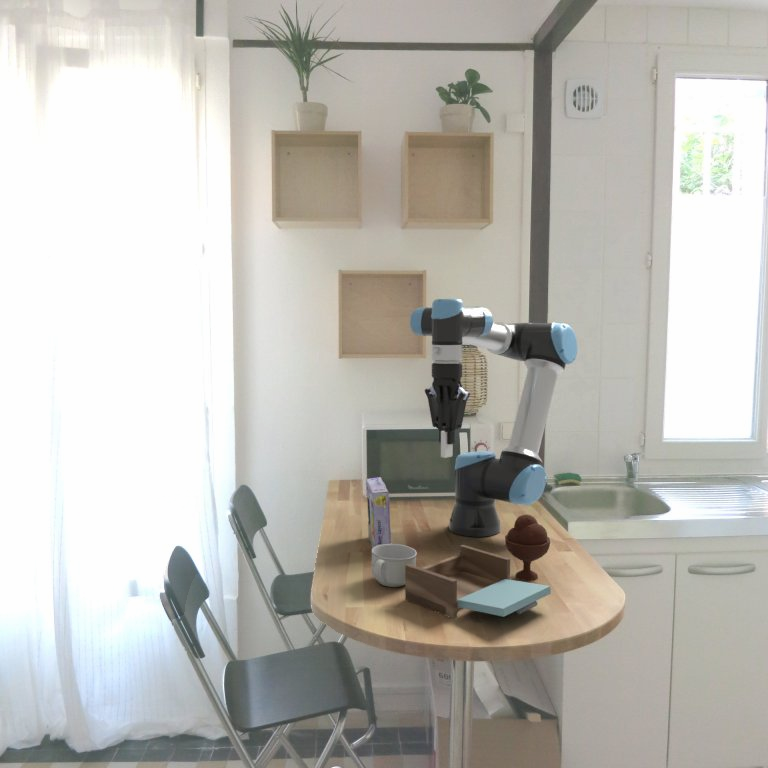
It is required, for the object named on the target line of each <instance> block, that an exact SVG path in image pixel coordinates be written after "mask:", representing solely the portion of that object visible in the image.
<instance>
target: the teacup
mask: <svg viewBox="0 0 768 768" xmlns="http://www.w3.org/2000/svg"><path fill="white" fill-rule="evenodd" d="M417 555H418V552H417V550H416V549H415V548H413V547H410V546H407V545H406V544H400V543H391V544H382V545H377V546H375V547H373V548H371V574H372V576H373V578H374V579H375V580H376V581H377V582H378V583H379V584H380V585H382V586H386V587H389V588H399V587H403V586H405V565H407V564H411V565H414V566H417V563H416V562H417Z"/></svg>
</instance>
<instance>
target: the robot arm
mask: <svg viewBox="0 0 768 768" xmlns="http://www.w3.org/2000/svg"><path fill="white" fill-rule="evenodd" d="M463 304H464V303H463V300H462V299H460V298H436V299H434V300H433V301H432V305H431V307H427V306H425V307H418V308H415V309H414V310H413V311H412V312H411V314H410V319H409V327H410V329H411V331H412V333H413V334H415V335H416V336H422V337H427V336H429V337H431V361H434V362H432V363H431V377H432V378H433V381H432V383H431V386H430V387H429V388H425V389H424V393H425V395H426V397H427V400H428V401H427V402H428V407H429V413H430V419H431V425H432V427H434V428H436V429H437V430H438V436H439V438H438V441H439V443H440V458H444V459H447V458H451V457H453V456H454V455H453V453H454V452H453V450H454V449H453V448H454V447H453V445H454V444H455V441H456V440H455V436H456V435H455V434H456V431H457V430H460V429H462V426H463V421H464V416H465V412H466V406H467V401H468V399H469V398H470V396H471V392H470V391H466V390H465V389H464V388H463V385H462V381H461V379H462V378H463V364H462V362H461V361H462V360H463V355H464V354H463V353H464V352H463V344H464V345H465V344H466V345H470V346H474V347H478V348H482V349H486V350H487V351H488V352H490V353H491V354H493V355H498V356H502V357H504V358H508V359H511V360H515V361H519V362H523V363H524V365H525V366H526V368H527V373H526V377H525V381H524V383H523V387H522V388H523V389H522V391H521V396H520V400H519V404H518V407H517V412H516V416H515V419H514V423H513V428H512V431H511V435H510V439H509V442H508V443H509V444H508V446H507V447H506V448H504V449H502V450H501V453H500V456H499V458H497V456H496V452H494V451H492V450H480V451H479V450H478V451H470V452H465V453H461V454H458V455H457V456H456V459H455V465H454V481H455V482H454V494H455V495H454V506H453V508H452V512H451V516H450V518H449V522H448V527H449V528H448V529H449V531H450V532H451V533H454V534H456V535H460V536H464V537H471V538H473V537H478V538H480V537H491V536H495V535H498V534H499V533H500V532H501V527H502V526H501V521H500V518H499V514H498V511H497V508H496V501H501V502H505V503H511V504H513V505H520V506H521V505H522V506H531V505H532V504H535V502H537V501H538V500H539V499H540V498H541V497H542V495H543V493H544V490H545V488H546V485H547V471H546V470H545V468H544V467H543V466H542V463H543V461H542V459H541V457H540V455H539V453H540V448H541V444H542V441H543V440H542V439H543V436H544V431H545V429H546V423H547V420H548V416H549V411H550V408H551V403H552V399H553V395H554V392H555V387H556V383H557V379H558V376H560V375H562V374H564V372H565V368H566V365H570V364H572V363H574V361H575V360H576V358H577V355H578V340H577V336H576V333H575V331H574V330H573V328H572V327H571V326H570V325H569V324H567V323H562V322H561V323H558V322H517V323H505V322H501V321H499V322H497V321H496V322H494V317H493V314H492V313H491V311H490V310H489V309H488V308H485V307H482V306H463Z"/></svg>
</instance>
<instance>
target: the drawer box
mask: <svg viewBox="0 0 768 768" xmlns="http://www.w3.org/2000/svg"><path fill="white" fill-rule="evenodd" d="M504 579H509V580H511V558H510V557H506V556H503V555H499V554H496V553H492V552H489V551H486V550H482V549H479V548H475V547H472V546H469V545H465V544H462V545H459V554H458V553H457V554H455V555H453V556H450V557H447V558H445V559H442V560H440V561H437V562H433V563H431V564H429V565H428V564H427V565H426V566H423V567H419V566H417V565H416V566H414V565H411V564H407V565H405V585H404V586H405V590H404V591H405V592H404V593H405V594H404V595H405V598H404V599H405V600H406V601H407V600H408V602H410V603H412V604H415V605H418V606H420V607H423V608H425V609H427V610H430V611H432V612H435V611H436V612H435V613H438V612H439V614H440V613H441V615H443V616H445V615H446V617H448V616H449V617H448V618H450V619H451V618H452V619H455V618H457V617H458V611H460V610H462V609H463V608H460V607H458V601H457V600H458V599H460V598H462V597H465V596H467V595H469V594H472V593H474V592H476V591H478V590H481V589H483V588H485V587H488V586H490V585H492V584H495V583H497V582H499V581H502V580H504Z"/></svg>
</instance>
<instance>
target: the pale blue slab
mask: <svg viewBox="0 0 768 768" xmlns="http://www.w3.org/2000/svg"><path fill="white" fill-rule="evenodd" d="M551 591H552V590H551V586H550V585H545V584H539V583H532V582H528V581H522V580H513V579H510V580H509V579H504V580H502V581H499V582H497V583H495V584H492V585H490V586H488V587H485V588H483V589H481V590H478V591H476V592H474V593H472V594H469V595H467V596H465V597H462V598H460V599H458V600H457V601H458V607H460V608H462V609H465V610H470V611H475V612H480V613H484V614H489V615H494V616H498V617H502V618H503V617H506V616H508V615H510V614H512V613H514V612H515V613H516V614H517V615H521V614H523V613H524V612H527V611H529V610H530V609H533V608H535V607H536V606H538V602H537V601H539V600H541V599H543V598H545V597H546V596H549V595H551V593H552V592H551Z"/></svg>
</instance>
